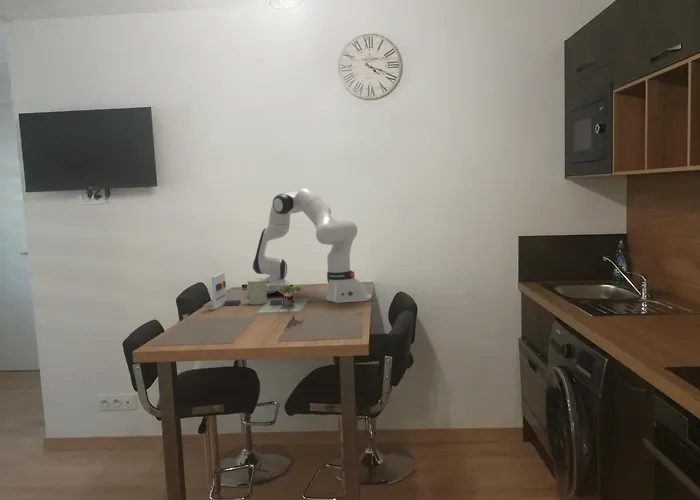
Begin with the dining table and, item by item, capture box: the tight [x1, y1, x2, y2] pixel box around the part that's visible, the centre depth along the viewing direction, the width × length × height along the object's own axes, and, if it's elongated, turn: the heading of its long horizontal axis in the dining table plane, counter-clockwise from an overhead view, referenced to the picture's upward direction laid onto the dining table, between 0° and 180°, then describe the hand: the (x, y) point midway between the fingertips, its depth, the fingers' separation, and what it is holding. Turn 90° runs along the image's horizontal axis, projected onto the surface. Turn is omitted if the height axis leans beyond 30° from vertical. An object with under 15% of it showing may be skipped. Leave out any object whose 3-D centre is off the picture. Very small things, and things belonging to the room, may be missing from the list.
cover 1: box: [224, 299, 242, 307], centre depth 290 cm, size 7×3×3 cm, turn 82°
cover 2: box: [269, 298, 284, 306], centre depth 286 cm, size 6×3×3 cm, turn 82°
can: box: [247, 278, 269, 306], centre depth 292 cm, size 9×9×12 cm
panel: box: [209, 272, 227, 311], centre depth 286 cm, size 4×14×16 cm, turn 172°
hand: (262, 289), depth 300 cm, fingers closed
